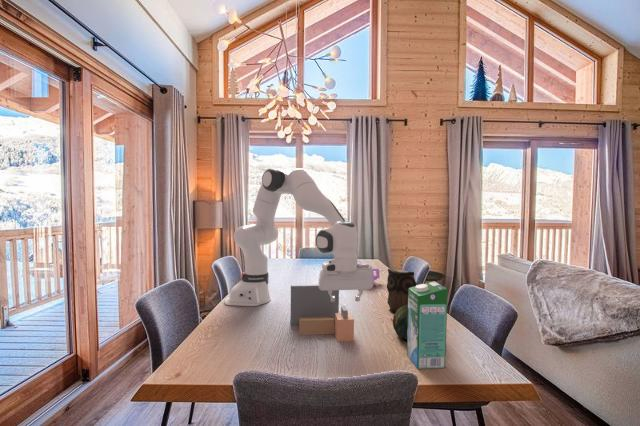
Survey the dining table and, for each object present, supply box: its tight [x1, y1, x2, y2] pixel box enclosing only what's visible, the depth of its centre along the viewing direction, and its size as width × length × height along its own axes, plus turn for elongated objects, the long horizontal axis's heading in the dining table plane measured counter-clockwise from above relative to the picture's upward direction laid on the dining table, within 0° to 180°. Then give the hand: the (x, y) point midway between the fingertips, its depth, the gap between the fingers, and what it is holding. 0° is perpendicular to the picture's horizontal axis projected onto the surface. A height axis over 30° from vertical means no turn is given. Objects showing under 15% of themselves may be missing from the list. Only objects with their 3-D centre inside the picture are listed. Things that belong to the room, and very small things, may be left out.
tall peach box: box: [334, 305, 355, 342], centre depth 120 cm, size 6×7×11 cm
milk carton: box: [406, 280, 448, 370], centre depth 102 cm, size 9×9×25 cm
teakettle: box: [361, 263, 381, 287], centre depth 198 cm, size 17×17×12 cm
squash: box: [392, 305, 408, 340], centre depth 119 cm, size 14×15×15 cm
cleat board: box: [289, 284, 340, 336], centre depth 130 cm, size 20×16×16 cm
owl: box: [386, 268, 418, 315], centre depth 147 cm, size 13×13×20 cm
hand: (345, 301), depth 120 cm, fingers open, 8 cm apart
